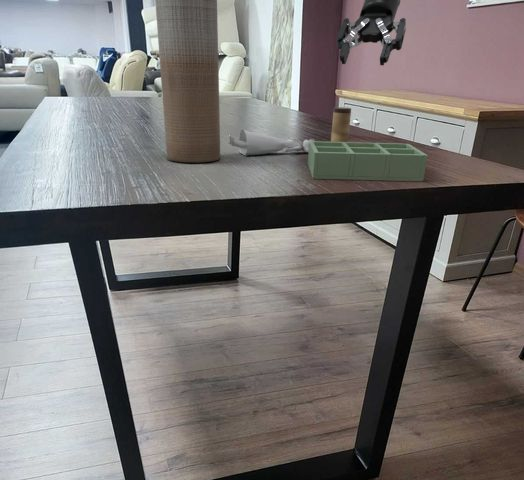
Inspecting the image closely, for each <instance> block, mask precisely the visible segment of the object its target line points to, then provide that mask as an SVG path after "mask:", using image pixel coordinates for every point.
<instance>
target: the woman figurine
mask: <svg viewBox="0 0 524 480" xmlns="http://www.w3.org/2000/svg"><path fill="white" fill-rule="evenodd" d="M289 138H290V139H283V138H280V137H277V136H271V135H267V134H263V133H258V132H254V131H249V130H244V129H241V130H240V132H239V139H238V140H236V139H235V138H234V135H232V134H231V133H230V134H229V135H228V144H229V145H231V146H232V147H236V148H238V149H239V152H240V154H242V155H243V156H244V155H245V156H244V157H249V155H250V156H258V155H265V154H271V153H278V152H280V151H283V150H284V153H288V152H301V151H303V152H304V153H307V154H308V152H309V141H315V139H313V138H310V139H309V140H308V139H307V138H306V139H305V140H304V141H303V142H302V141H300V140H299V139H297V138H296V137H293V136H291V137H289Z"/></svg>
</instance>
